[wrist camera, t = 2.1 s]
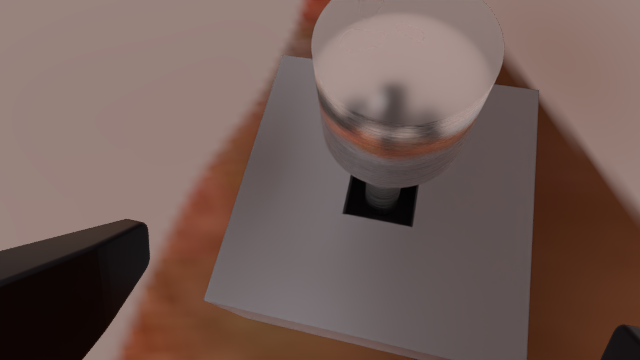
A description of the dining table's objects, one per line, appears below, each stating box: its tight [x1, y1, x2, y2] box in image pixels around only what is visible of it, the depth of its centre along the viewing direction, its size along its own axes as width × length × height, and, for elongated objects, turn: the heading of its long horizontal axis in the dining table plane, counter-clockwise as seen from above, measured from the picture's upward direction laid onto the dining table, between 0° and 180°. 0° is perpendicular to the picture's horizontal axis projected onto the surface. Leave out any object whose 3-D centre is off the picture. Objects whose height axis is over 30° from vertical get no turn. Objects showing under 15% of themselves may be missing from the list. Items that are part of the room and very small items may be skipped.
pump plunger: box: [311, 0, 504, 215], centre depth 12 cm, size 4×4×9 cm
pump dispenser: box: [204, 55, 539, 360], centre depth 18 cm, size 10×10×6 cm
